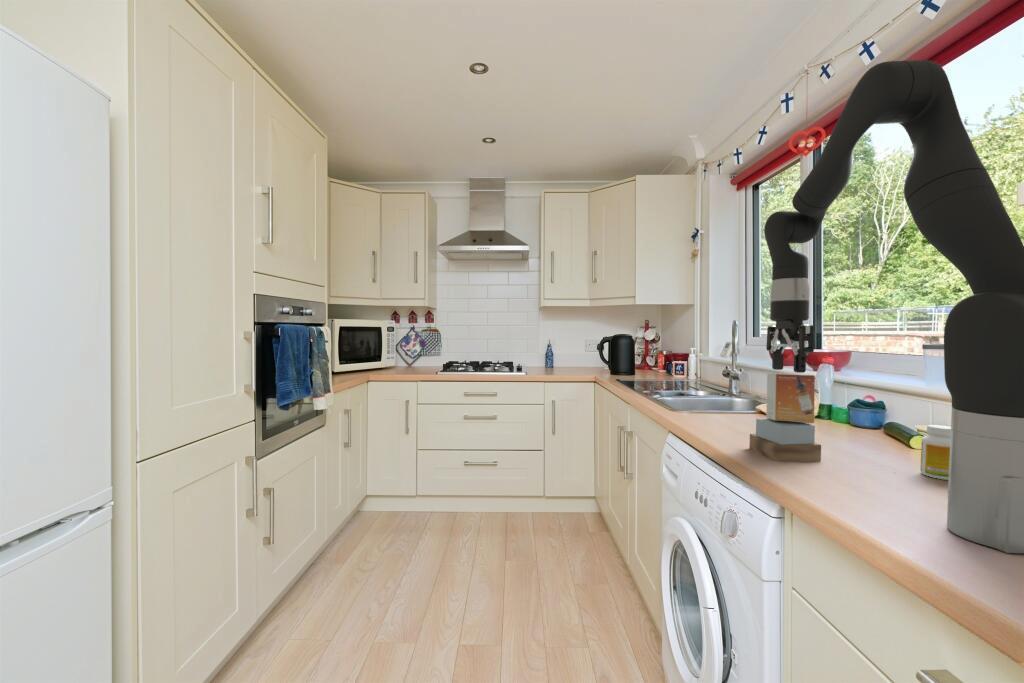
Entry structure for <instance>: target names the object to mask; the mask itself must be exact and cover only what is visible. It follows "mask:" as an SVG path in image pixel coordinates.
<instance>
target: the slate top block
mask: <svg viewBox="0 0 1024 683" xmlns="http://www.w3.org/2000/svg"><path fill="white" fill-rule="evenodd" d="M755 421H756V422H755V434H756V436H758V437H761V438H763V439H766V440H769V441H772V442H775V443H778V444H781V445H783V444H814V443H815V432H816V425H813V424H812V423H802V422H791V421H775V420H771V419H768V418H756V420H755Z"/></svg>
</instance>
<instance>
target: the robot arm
mask: <svg viewBox="0 0 1024 683" xmlns="http://www.w3.org/2000/svg"><path fill="white" fill-rule="evenodd" d="M882 124H883V125H884V124H886V125H887V124H891V125H892V124H899V125H900V126H902V128H904V130H905V131H906V133H907V135H908V137H909V139H910V142H911V145H912V148H913V156H912V160H911V163H910V165H909V168H908V171H907V173H906V177H905V179H904V186H903V197H904V199H905V204H907V205H906V206H907V207H908V209H909V212H910V215H911V216H912V219H913V221H914V224H915V225H916V228H917V229H918V230H919V232H920V234H921V235H922V236H923V237H924V238H925V240H926V241H927V242H928V243H929V244H930V245H932V246H933V248H935V250H936V251H938V252H939V253H940V254H941V255H942V256H943V257H944V258H946V259H947V260H948V261H949V262H950V263H951V264H952V265H953V266H954V267H955V268H956V269H957V270H958V271H959V273H961V274H962V276H963V277H964V279H965V280H966V281H967V284H968V286H969V287H970V289H971V292H972V295H969V296H966V297H965V298H962V299H961V300H960V301H958V302H957V303H956V304H955V305H954V306H953V307H952V309H951V310H950V311H949V314H948V316H947V318H946V321H945V325H944V331H943V360H944V361H943V362H944V367H943V368H944V381H945V382H944V383H945V386H946V388H947V390H948V392H949V394H950V396H951V416H950V417H951V418H950V420H951V421H950V427H951V436H950V459H949V480H948V484H947V485H948V486H947V488H948V489H947V511H946V512H947V513H946V514H947V515H946V516H947V517H946V527H947V530H949V531H950V532H952V533H953V534H954V535H957V536H958V537H961V538H963V539H965V540H968V541H970V542H974V543H977V544H980V545H983V546H987V547H990V548H994V549H997V550H999V551H1002V552H1003V553H1006V554H1007V553H1008V554H1024V244H1023V241H1022V239H1021V236H1020V235H1019V232H1018V231H1017V229H1016V227H1015V224H1014V223H1013V221H1012V219H1011V217H1010V215H1009V213H1008V210H1006V208H1005V206H1004V203H1003V202H1002V198H1001V197H1000V195H999V192H998V190H997V188H996V185H995V184H994V182H993V180H992V178H991V176H990V174H989V172H988V170H987V169H986V167H985V165H984V164H983V161H982V160H981V159H980V156H979V155H978V152H977V151H976V148H975V146H974V144H973V142H972V140H971V137H970V135H969V133H968V131H967V130H966V127H965V125H964V123H963V120H962V118H961V115H960V113H959V108H958V106H957V102H956V99H955V95H954V92H953V89H952V86H951V83H950V80H949V78H948V75H947V73H946V71H945V69H944V68H943V67H942V66H941V65H940V64H939V63H937V62H936V61H932V60H927V59H918V60H917V59H916V60H915V59H914V60H913V59H912V60H911V59H910V60H888V61H883V62H880V63H876V64H875V65H873V66H871V67H870V68H869V69H868V70H867V71H866V72H865V73H864V74H863V75H862V76H861V78H860V79H859V80H858V81H857V84H856V85H855V86H854V89H852V91H851V94H850V96H849V97H848V99H847V101H846V103H845V105H844V107H843V110H842V112H841V113H840V116H839V117H838V119H837V122H836V123H835V125H834V128H833V129H832V132H831V133H830V135H829V138H828V140H827V142H826V144H825V146H824V148H823V150H822V152H821V154H820V156H819V158H818V159H817V161H816V163H815V165H814V166H813V168H812V169H811V170H810V172H809V173H808V174H807V176H806V178H805V179H804V181H803V182H802V184H800V187H798V189H797V190H796V192H795V194H794V195H793V198H792V206H793V209H795V210H796V211H788V210H786V211H785V210H784V211H781V210H780V211H775V212H773V213H772V214H770V215H769V216H768V218H767V220H766V221H765V224H764V230H763V232H764V238H765V241H766V245H767V247H768V250H769V256H770V260H771V263H772V273H771V278H772V279H771V286H770V307H769V309H770V310H769V314H770V316H769V319H770V321H773V322H776V324H775V325H768V326H767V330H766V333H767V334H766V351H770V353H771V354H772V356H771V357H772V358H771V359H772V361H771V362H772V363H771V364H772V366H771V368H772V370H777V371H778V370H779V371H781V370H784V351H785V349H786V348H787V347H789V348H791V350H792V352H793V354H794V355H793V372H794V373H797V374H798V373H800V374H801V373H805V372H806V370H807V367H806V366H807V356H808V355H809V354H810V353H814V352H815V345H814V344H815V342H814V341H815V339H814V338H815V336H814V334H815V331H814V325H813V324H804V321H808V320H809V318H810V316H809V315H810V284H809V265H810V264H809V263H810V262H809V256H808V255H807V254H806V253H803V252H799V251H796V250H794V249H793V248H792V247H791V245H790V244H805V243H808V242H810V241H811V240H813V239H814V238H815V237H816V236H817V235H818V233H819V231H820V229H821V227H822V223H823V221H824V219H825V217H826V214H827V211H828V209H829V208H830V207H831V205H832V204H833V203H834V201H836V199H837V198H838V196H840V194H841V193H842V191H843V190H844V189H845V188H846V186H847V184H848V183H849V181H850V178H851V176H852V171H853V160H854V159H853V158H854V151H855V148H856V145H857V144H858V142H859V141H860V139H861V138H862V137H863V136H864V134H865V133H866V132H868V130H869V129H870V128H872V127H873V126H874V125H882Z"/></svg>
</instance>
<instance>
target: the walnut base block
mask: <svg viewBox="0 0 1024 683" xmlns="http://www.w3.org/2000/svg"><path fill="white" fill-rule="evenodd" d="M749 449H750V450H752V451H754V452H756V453H757V452H758V454H759V453H760V455H761V454H762V455H761V456H764V457H765V458H768V459H770V460H771V461H774V462H821V461H822V444H820V443H817V442H814V444H783V445H781V444H778V443H775V442H772V441H769V440H766V439H763V438H761V437H758V436H756V433H749Z"/></svg>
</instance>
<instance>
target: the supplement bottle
mask: <svg viewBox="0 0 1024 683" xmlns="http://www.w3.org/2000/svg"><path fill="white" fill-rule="evenodd" d="M926 432H927V433H928V434H927V435H924V436H923V437H922V438H921V447H920V448H921V449H920V474H921V475H923V476H925V475H926V476H925V477H928V476H929V477H928V478H933V479H936V478H937V480H941V481H942V480H944V481H949V459H950V436H951V426H945V425H941V424H927V425H926Z"/></svg>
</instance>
